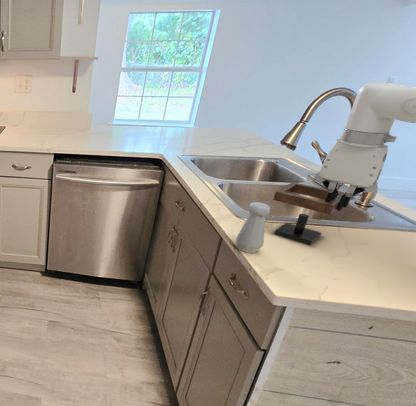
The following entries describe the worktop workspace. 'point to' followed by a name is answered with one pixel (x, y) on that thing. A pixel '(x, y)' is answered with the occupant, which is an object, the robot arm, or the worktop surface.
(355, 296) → the worktop surface
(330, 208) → the walnut frame
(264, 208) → the salt shaker
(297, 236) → the peg stand
